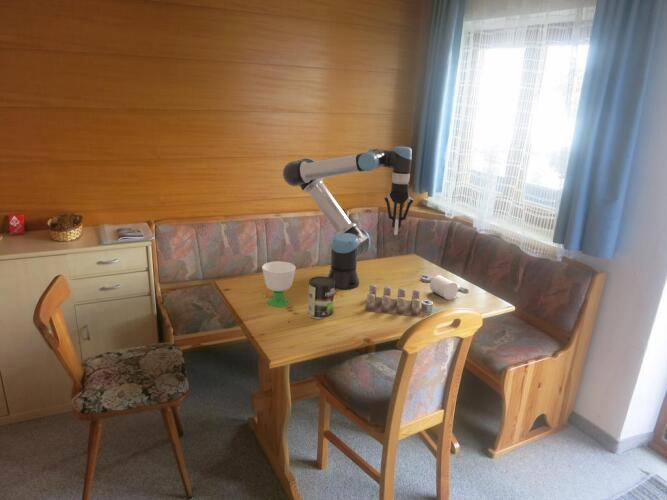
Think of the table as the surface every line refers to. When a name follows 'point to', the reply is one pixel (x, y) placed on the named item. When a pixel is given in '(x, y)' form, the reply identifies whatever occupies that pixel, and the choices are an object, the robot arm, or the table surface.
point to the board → (393, 302)
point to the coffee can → (321, 297)
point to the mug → (444, 287)
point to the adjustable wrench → (432, 278)
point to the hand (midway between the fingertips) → (395, 234)
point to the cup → (278, 281)
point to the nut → (426, 306)
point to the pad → (434, 311)
